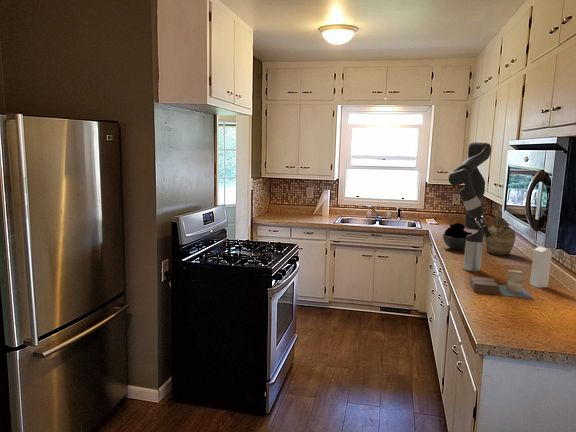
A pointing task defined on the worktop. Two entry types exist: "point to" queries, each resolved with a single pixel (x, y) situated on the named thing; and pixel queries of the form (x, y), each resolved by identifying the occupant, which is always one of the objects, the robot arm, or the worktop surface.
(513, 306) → the worktop surface
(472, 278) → the plate
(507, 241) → the ceramic vessel
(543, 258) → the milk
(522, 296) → the rubber mat
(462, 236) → the coal bowl
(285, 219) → the worktop surface
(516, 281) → the birch block
